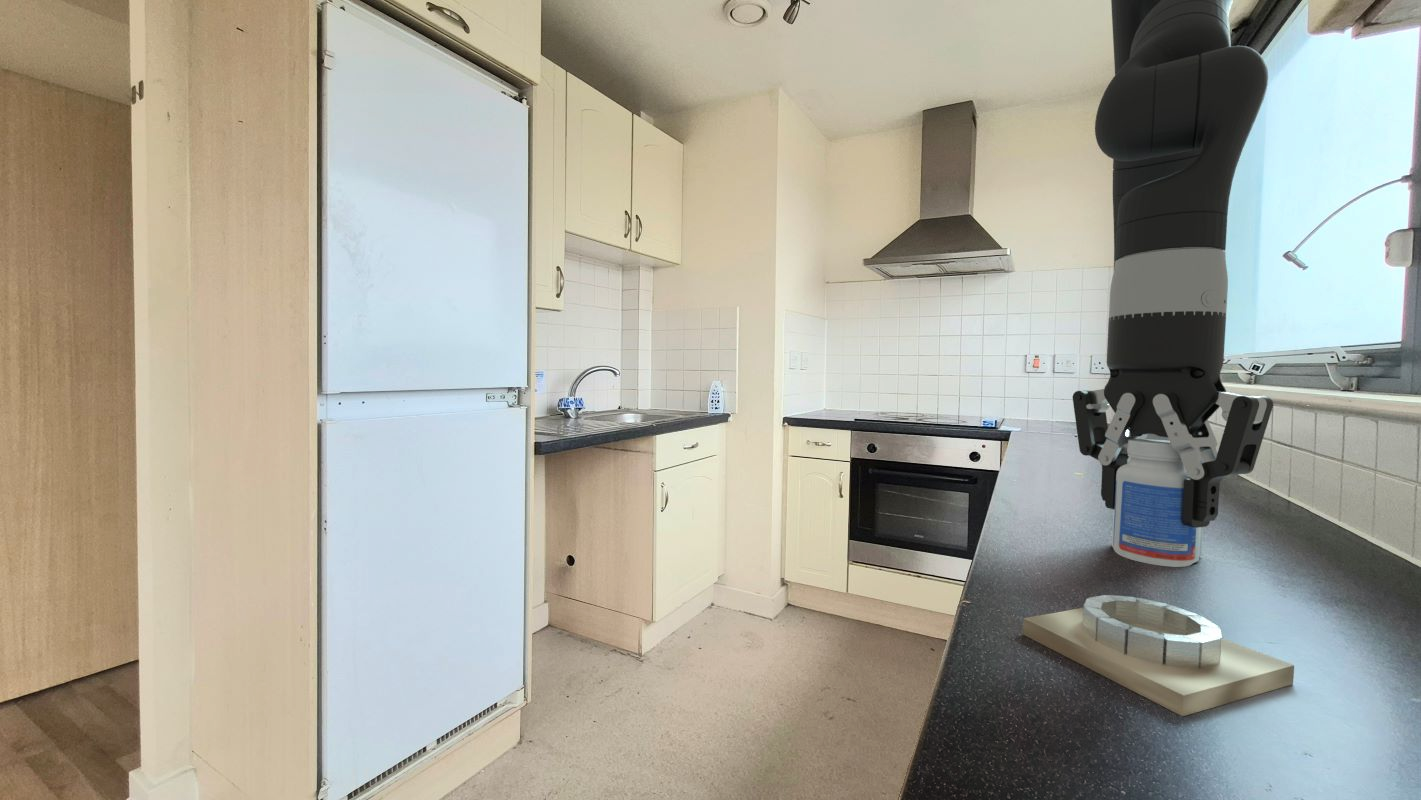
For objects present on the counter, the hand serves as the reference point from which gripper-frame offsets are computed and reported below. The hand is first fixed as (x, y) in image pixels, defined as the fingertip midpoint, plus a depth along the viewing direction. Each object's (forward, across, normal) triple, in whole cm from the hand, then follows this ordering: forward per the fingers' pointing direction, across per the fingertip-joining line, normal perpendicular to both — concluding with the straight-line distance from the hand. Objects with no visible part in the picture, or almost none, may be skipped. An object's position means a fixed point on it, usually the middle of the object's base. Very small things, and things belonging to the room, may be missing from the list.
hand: (1153, 515), depth 47 cm
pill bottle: (+4, 0, 0) cm, 4 cm away
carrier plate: (+12, 0, 0) cm, 12 cm away
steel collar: (+11, 0, 0) cm, 11 cm away
